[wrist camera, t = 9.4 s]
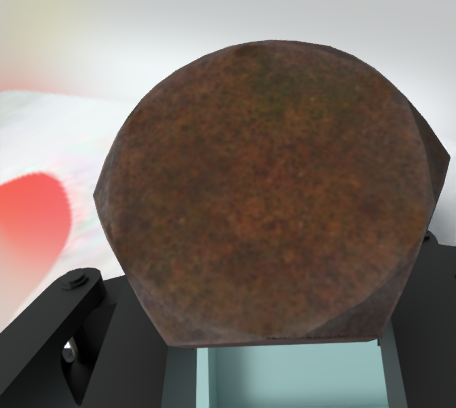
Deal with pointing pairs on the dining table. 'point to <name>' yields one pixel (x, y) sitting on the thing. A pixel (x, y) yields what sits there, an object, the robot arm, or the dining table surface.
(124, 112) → the dining table surface
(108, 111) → the dining table surface
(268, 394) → the tray
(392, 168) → the bolt
